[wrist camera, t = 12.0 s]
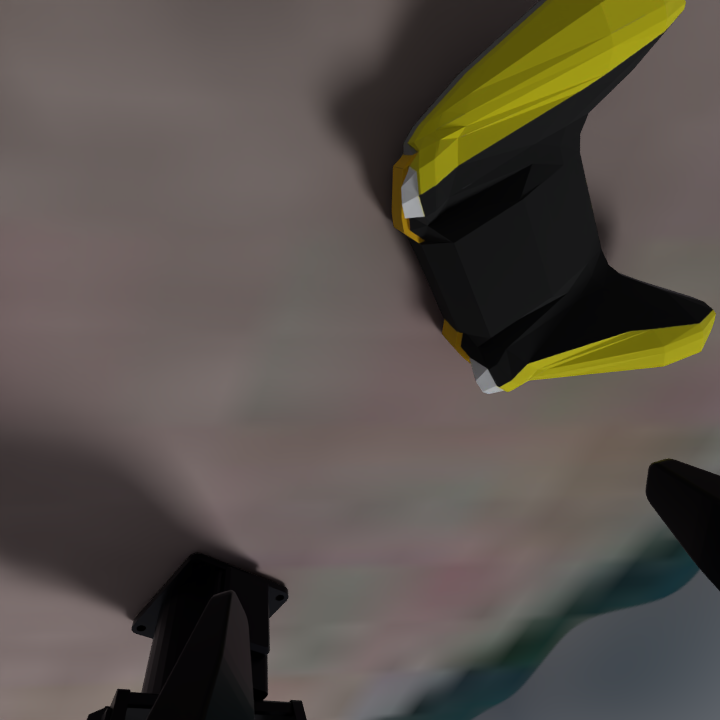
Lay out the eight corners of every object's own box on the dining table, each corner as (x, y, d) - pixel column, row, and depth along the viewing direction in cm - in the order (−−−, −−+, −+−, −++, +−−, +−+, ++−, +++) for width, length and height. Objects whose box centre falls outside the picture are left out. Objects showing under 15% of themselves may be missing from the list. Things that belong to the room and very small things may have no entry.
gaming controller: (574, -23, 17) (338, 112, 17) (702, -90, 12) (368, 102, 12) (638, 309, 24) (469, 400, 24) (735, 353, 19) (521, 466, 19)
